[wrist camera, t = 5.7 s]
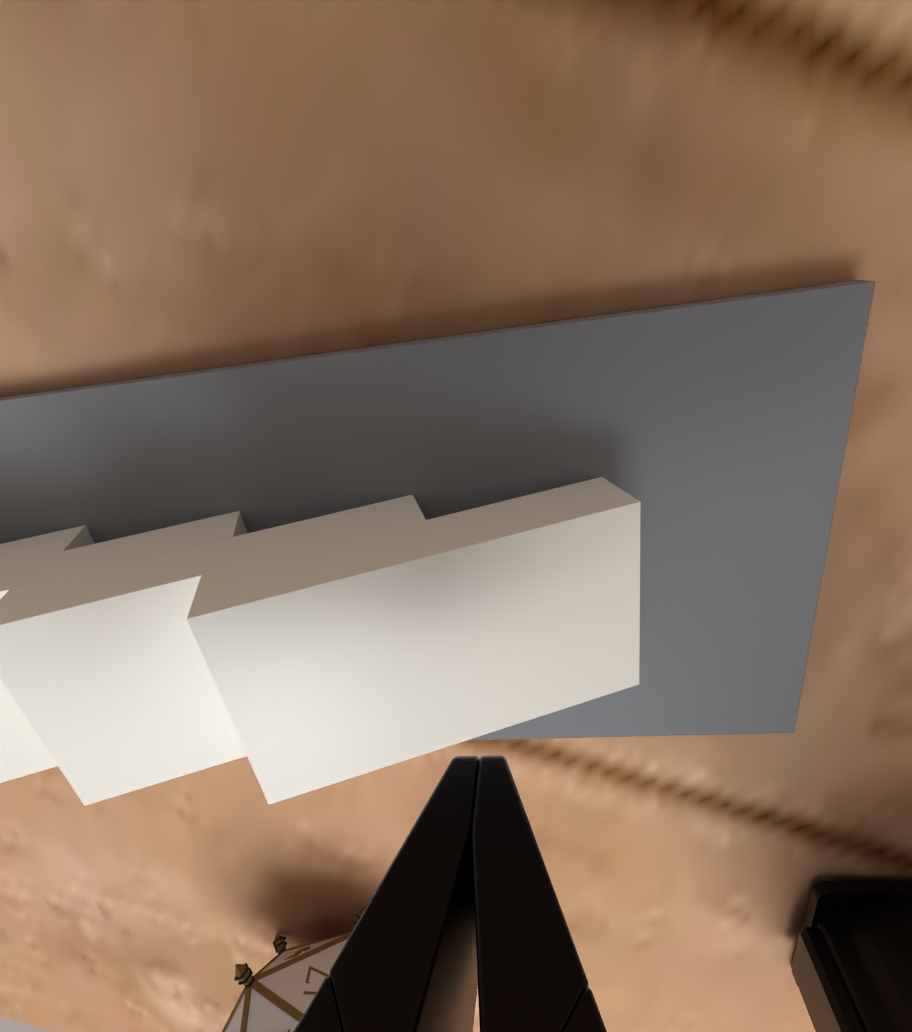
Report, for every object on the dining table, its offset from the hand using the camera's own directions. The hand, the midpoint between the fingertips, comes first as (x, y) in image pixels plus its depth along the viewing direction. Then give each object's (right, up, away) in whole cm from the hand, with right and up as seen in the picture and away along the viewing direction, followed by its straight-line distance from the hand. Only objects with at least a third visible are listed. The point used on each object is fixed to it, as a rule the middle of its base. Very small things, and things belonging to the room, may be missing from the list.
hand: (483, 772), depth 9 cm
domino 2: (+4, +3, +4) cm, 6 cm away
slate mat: (-4, +3, +7) cm, 8 cm away
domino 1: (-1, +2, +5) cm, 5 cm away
